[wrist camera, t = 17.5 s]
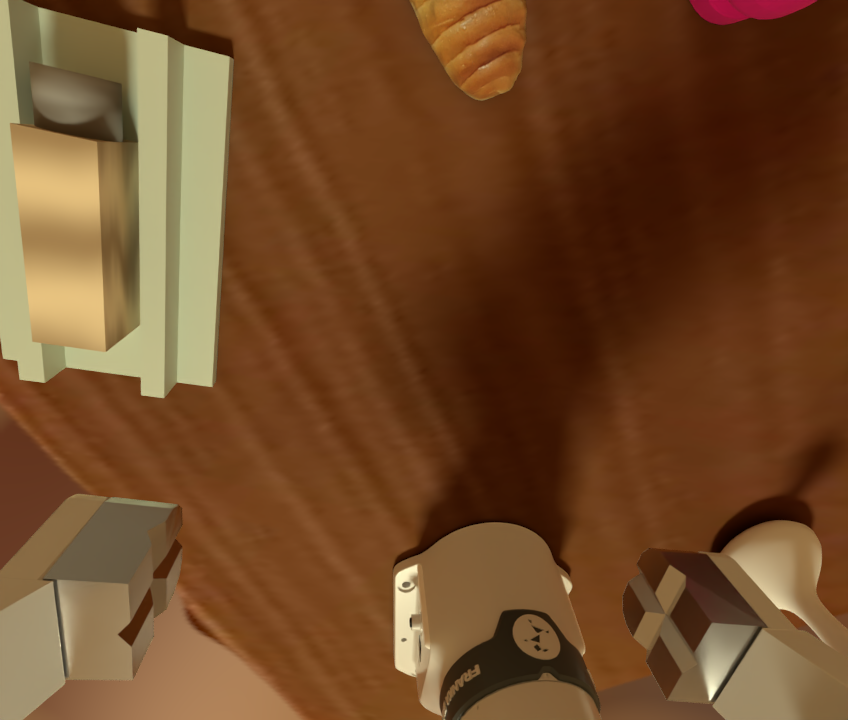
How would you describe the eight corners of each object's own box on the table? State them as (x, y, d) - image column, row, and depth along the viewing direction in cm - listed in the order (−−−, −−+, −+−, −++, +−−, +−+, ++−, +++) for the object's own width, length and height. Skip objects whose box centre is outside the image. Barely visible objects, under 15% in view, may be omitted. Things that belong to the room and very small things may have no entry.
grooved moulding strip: (215, 381, 37) (201, 402, 34) (12, 353, 35) (-23, 373, 31) (233, 59, 29) (217, 48, 26) (-32, -9, 26) (-87, -31, 23)
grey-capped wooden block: (140, 324, 34) (105, 352, 29) (78, 314, 33) (32, 341, 29) (138, 87, 28) (94, 76, 24) (62, 69, 27) (2, 54, 23)
